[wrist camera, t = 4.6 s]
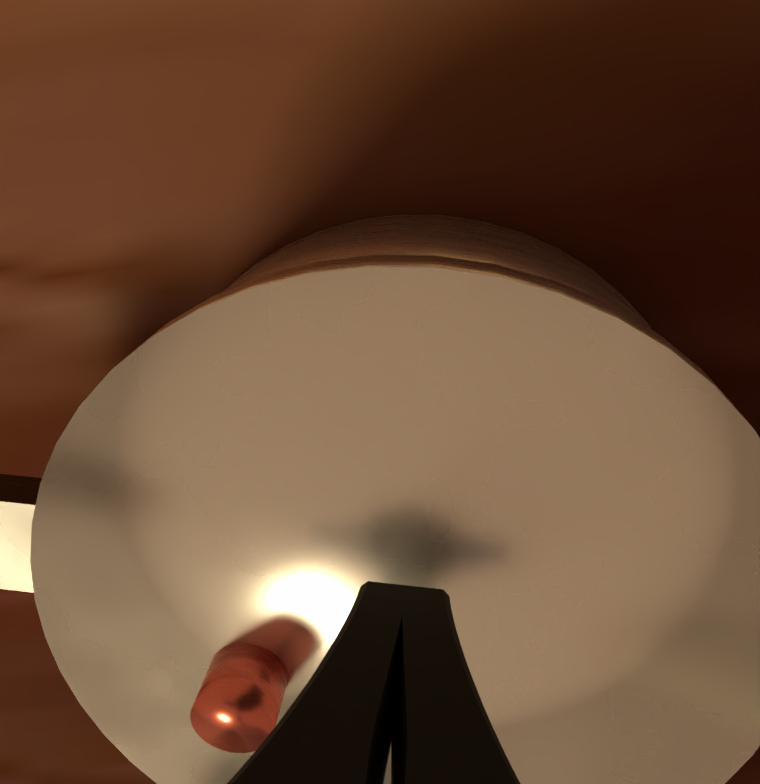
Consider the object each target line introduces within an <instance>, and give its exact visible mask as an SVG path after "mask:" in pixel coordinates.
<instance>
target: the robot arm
mask: <svg viewBox="0 0 760 784" xmlns="http://www.w3.org/2000/svg"><path fill="white" fill-rule="evenodd" d="M390 746H391V784H520V782H519V780H518V778H517V776H516V774H515V772H514V770H513V768H512V766H511V764H510V762H509V760H508V758H507V756H506V754H505V752H504V750H503V748H502V746H501V744H500V742H499V739H498V737H497V735H496V733H495V731H494V729H493V727H492V724H491V722H490V720H489V718H488V715H487V713H486V711H485V708H484V706H483V704H482V701H481V698H480V696H479V693H478V691H477V688H476V686H475V683H474V681H473V678H472V676H471V673H470V670H469V668H468V665H467V662H466V659H465V656H464V653H463V650H462V647H461V644H460V640H459V637H458V634H457V630H456V627H455V623H454V619H453V614H452V609H451V604H450V596H449V595H448V594H447V593H446V592H445V591H444V589H435V588H426V587H417V586H408V585H399V584H389V583H380V582H371V581H368V582H366V583H365V584H363V585H362V586H361V587H360V589H359V592H358V595H357V598H356V600H355V602H354V604H353V606H352V609H351V611H350V613H349V615H348V617H347V619H346V621H345V622H344V624H343V626H342V628H341V630H340V631H339V633H338V635H337V637H336V639H335V640H334V642H333V644H332V645H331V647H330V648H329V650H328V652H327V653H326V655H325V656H324V658H323V660H322V661H321V663H320V664H319V666H318V668H317V669H316V671H315V672H314V674H313V675H312V677H311V678H310V680H309V681H308V683H307V684H306V686H305V687H304V688H303V690H302V691H301V692H300V694H299V695H298V697H297V698H296V699H295V701H294V702H293V703H292V705H291V706H290V708H289V709H288V710H287V712H286V713H285V715H284V716H283V717H282V719H281V720H280V721H279V723H278V724H277V725H276V726H275V728H274V729H273V730H272V731H271V733H270V734H269V735H268V736H267V738H266V739H265V740H264V741H263V743H262V744H261V745H260V746H259V748H258V749H257V750H256V751H255V752H254V753H253V755H252V756H251V757H250V758H249V759H248V760H247V762H246V763H245V764H244V765H243V766H242V767H241V769H240V770H239V771H238V772H237V773H236V774H235V775H234V776H233V777H232V778H231V780H230V781H229V782H228V783H227V784H383V783H384V778H385V773H386V768H387V762H388V757H389V752H390Z"/></svg>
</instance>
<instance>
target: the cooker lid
mask: <svg viewBox="0 0 760 784" xmlns="http://www.w3.org/2000/svg"><path fill="white" fill-rule="evenodd" d="M30 564H31V572H32V581H33V589H34V597H35V602H36V606H37V609H38V613H39V617H40V620H41V624H42V627H43V631H44V635H45V638H46V640H47V642H48V644H49V647H50V649H51V651H52V653H53V656H54V658H55V660H56V663H57V665H58V667H59V669H60V672H61V673H62V675H63V677H64V678H65V680H66V682H67V683H68V685H69V687H70V688H71V690H72V691H73V693H74V695H75V696H76V698H77V700H78V701H79V703H80V705H81V706H82V707H83V708H84V710H85V711H86V712H87V713H88V715H89V716H90V717H91V719H92V720H93V721H94V722H95V724H96V725H97V726H98V728H99V729H100V730H101V731H102V733H103V734H104V735H105V736H106V737H107V738H108V739H109V740H110V741H111V742H112V743H113V744H114V745H115V746H116V747H117V748H118V749H119V750H120V751H121V752H122V753H123V754H124V755H125V757H126V758H127V759H128V760H129V761H130V762H132V763H133V764H134V765H135V766H136V767H138V768H139V769H140V770H141V771H142V772H144V773H145V774H146V775H147V776H148V777H150V778H151V779H152V780H153V781H154V782H156V783H157V784H227V783H228V782H229V781H230V780H231V778H232V777H233V776H234V775H235V774H236V773H237V772H238V771H239V770H240V769H241V767H242V766H243V765H244V764H245V763H246V762H247V760H248V759H249V758H250V757H251V756H252V755H253V753H254V752H255V751H256V750H257V749H258V748H259V746H260V745H261V744H262V743H263V741H264V740H265V739H266V738H267V736H268V735H269V734H270V733H271V731H272V730H273V729H274V728H275V726H276V725H277V724H278V723H279V721H280V720H281V719H282V717H283V716H284V715H285V713H286V712H287V710H288V709H289V708H290V706H291V705H292V703H293V702H294V701H295V699H296V698H297V697H298V695H299V694H300V692H301V691H302V690H303V688H304V687H305V686H306V684H307V683H308V681H309V680H310V678H311V677H312V675H313V674H314V672H315V671H316V669H317V668H318V666H319V664H320V663H321V661H322V660H323V658H324V656H325V655H326V653H327V652H328V650H329V648H330V647H331V645H332V644H333V642H334V640H335V639H336V637H337V635H338V633H339V631H340V630H341V628H342V626H343V624H344V622H345V621H346V619H347V617H348V615H349V613H350V611H351V609H352V606H353V604H354V602H355V600H356V598H357V595H358V592H359V589H360V587H361V586H362V585H363V584H365V583H366V582H368V581H371V582H380V583H389V584H399V585H408V586H417V587H426V588H435V589H444V591H445V592H446V593H447V594H448V595H449V596H450V604H451V609H452V614H453V619H454V623H455V627H456V630H457V634H458V637H459V640H460V644H461V647H462V650H463V653H464V656H465V659H466V662H467V665H468V668H469V670H470V673H471V676H472V678H473V681H474V683H475V686H476V688H477V691H478V693H479V696H480V698H481V701H482V704H483V706H484V708H485V711H486V713H487V715H488V718H489V720H490V722H491V724H492V727H493V729H494V731H495V733H496V735H497V737H498V739H499V742H500V744H501V746H502V748H503V750H504V752H505V754H506V756H507V758H508V760H509V762H510V764H511V766H512V768H513V770H514V772H515V774H516V776H517V778H518V780H519V782H520V784H725V783H726V782H727V781H728V780H729V779H730V778H731V777H732V776H733V775H734V774H735V773H736V772H737V771H738V770H739V769H740V768H741V767H742V766H743V765H744V764H745V763H746V762H747V761H748V760H749V759H750V758H751V757H752V756H753V754H754V753H755V752H756V750H757V749H758V747H759V746H760V438H759V436H758V435H757V433H756V431H755V430H754V429H753V427H752V426H751V425H750V424H749V423H748V421H747V420H746V419H745V418H744V416H743V415H742V414H741V413H740V412H739V410H738V409H737V408H736V407H735V406H734V404H733V403H732V402H731V401H730V400H729V399H728V398H727V397H726V396H725V395H724V393H723V392H722V391H721V390H720V389H719V388H718V387H717V386H716V385H715V383H714V382H713V381H712V380H711V379H710V378H709V377H708V376H707V375H706V373H705V372H704V371H703V370H702V369H701V368H700V367H699V366H697V365H696V364H695V363H694V362H693V361H691V360H690V359H689V358H688V357H686V356H685V355H684V354H683V353H681V352H680V351H679V350H678V349H677V348H675V347H674V346H673V345H672V344H670V343H669V342H668V341H667V340H666V339H664V338H663V337H662V336H661V335H659V334H658V333H657V332H655V331H653V330H652V329H650V328H648V327H647V326H645V325H643V324H642V323H640V322H638V321H637V320H635V319H633V318H632V317H630V316H628V315H627V314H625V313H623V312H622V311H620V310H618V309H617V308H615V307H613V306H612V305H610V304H608V303H606V302H604V301H601V300H599V299H597V298H594V297H592V296H589V295H587V294H585V293H582V292H580V291H578V290H575V289H573V288H571V287H568V286H566V285H564V284H561V283H559V282H557V281H554V280H551V279H547V278H544V277H540V276H537V275H533V274H529V273H526V272H522V271H519V270H515V269H512V268H508V267H504V266H501V265H497V264H492V263H485V262H478V261H471V260H464V259H456V258H449V257H442V256H435V255H369V256H360V257H352V258H344V259H335V260H327V261H318V262H314V263H310V264H306V265H302V266H298V267H294V268H290V269H286V270H283V271H279V272H275V273H271V274H267V275H263V276H260V277H258V278H255V279H253V280H251V281H248V282H246V283H243V284H241V285H238V286H236V287H234V288H231V289H229V290H226V291H224V292H221V293H219V294H217V295H214V296H212V297H210V298H208V299H207V300H205V301H203V302H202V303H200V304H198V305H197V306H195V307H193V308H192V309H190V310H188V311H187V312H185V313H183V314H181V315H180V316H178V317H176V318H175V319H173V320H171V321H170V322H168V323H167V324H166V325H164V326H163V327H162V328H161V329H159V330H158V331H157V332H156V333H155V334H153V335H152V336H151V337H150V338H149V339H147V340H146V341H145V342H144V343H142V344H141V345H140V346H139V347H138V348H136V349H135V350H134V351H133V352H132V353H130V354H129V355H128V356H127V357H126V358H125V359H123V360H122V361H121V362H120V363H119V364H118V365H117V366H116V367H114V368H113V369H112V370H111V371H110V372H109V373H108V374H107V375H106V377H105V378H104V379H103V380H102V381H101V382H100V383H99V385H98V386H97V387H96V388H95V389H94V390H93V391H92V392H91V394H90V395H89V396H88V397H87V398H86V399H85V400H84V402H83V403H82V404H81V405H80V406H79V408H78V409H77V411H76V412H75V414H74V416H73V417H72V419H71V421H70V422H69V424H68V425H67V427H66V429H65V430H64V432H63V434H62V435H61V437H60V438H59V440H58V442H57V443H56V445H55V448H54V450H53V453H52V455H51V458H50V460H49V463H48V465H47V468H46V470H45V473H44V475H43V478H42V480H41V483H40V487H39V491H38V496H37V501H36V505H35V510H34V515H33V520H32V531H31V555H30ZM383 784H391V746H390V752H389V757H388V762H387V768H386V773H385V778H384V783H383Z"/></svg>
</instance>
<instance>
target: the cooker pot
mask: <svg viewBox="0 0 760 784" xmlns="http://www.w3.org/2000/svg"><path fill="white" fill-rule="evenodd" d="M369 255H435V256H442V257H449V258H456V259H464V260H471V261H478V262H485V263H492V264H497V265H501V266H504V267H508V268H512V269H515V270H519V271H522V272H526V273H529V274H533V275H537V276H540V277H544V278H547V279H551V280H554V281H557V282H559V283H561V284H564V285H566V286H568V287H571V288H573V289H575V290H578V291H580V292H582V293H585V294H587V295H589V296H592V297H594V298H597V299H599V300H601V301H604V302H606V303H608V304H610V305H612V306H613V307H615V308H617V309H618V310H620V311H622V312H623V313H625V314H627V315H628V316H630V317H632V318H633V319H635V320H637V321H638V322H640V323H642V324H643V325H645V326H647V327H648V328H650V329H652V328H651V327H650V326H649V324H648V323H647V322H646V321H645V319H644V318H643V317H642V316H641V315H640V314H639V313H638V311H637V310H636V309H635V308H634V307H633V306H632V305H631V304H630V303H629V302H628V300H627V299H626V298H625V297H624V296H623V295H622V294H621V293H620V292H619V291H618V290H617V289H616V288H615V287H613V286H612V285H611V284H610V283H608V282H607V281H606V280H605V279H604V278H602V277H601V276H600V275H599V274H597V273H596V272H595V271H594V270H593V269H591V268H590V267H589V266H587V265H585V264H584V263H582V262H580V261H579V260H577V259H576V258H574V257H572V256H571V255H569V254H567V253H566V252H564V251H562V250H561V249H559V248H557V247H556V246H553V245H551V244H549V243H546V242H544V241H542V240H539V239H537V238H535V237H532V236H530V235H528V234H525V233H523V232H521V231H518V230H514V229H511V228H507V227H504V226H500V225H496V224H493V223H489V222H486V221H482V220H477V219H469V218H462V217H455V216H448V215H441V214H397V215H390V216H382V217H374V218H366V219H359V220H356V221H352V222H348V223H345V224H341V225H337V226H333V227H330V228H326V229H322V230H320V231H318V232H315V233H313V234H311V235H308V236H306V237H303V238H301V239H299V240H296V241H294V242H292V243H289V244H287V245H286V246H284V247H282V248H281V249H279V250H277V251H276V252H274V253H272V254H271V255H269V256H267V257H266V258H264V259H262V260H261V261H259V262H257V263H256V264H255V265H253V266H252V267H251V268H250V269H249V270H247V271H246V272H245V273H244V274H242V275H241V276H240V277H239V278H237V279H236V280H235V281H234V282H233V283H231V284H230V285H229V286H228V287H227V288H226V289H225V290H224V291H226V290H229V289H231V288H234V287H236V286H238V285H241V284H243V283H246V282H248V281H251V280H253V279H255V278H258V277H260V276H263V275H267V274H271V273H275V272H279V271H283V270H286V269H290V268H294V267H298V266H302V265H306V264H310V263H314V262H318V261H327V260H335V259H344V258H352V257H360V256H369ZM224 291H223V292H224ZM41 480H42V478H35V477H25V476H15V475H5V474H0V589H7V590H16V591H24V592H33V593H34V589H33V581H32V572H31V564H30V555H31V531H32V520H33V515H34V510H35V505H36V501H37V496H38V491H39V487H40V483H41Z"/></svg>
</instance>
